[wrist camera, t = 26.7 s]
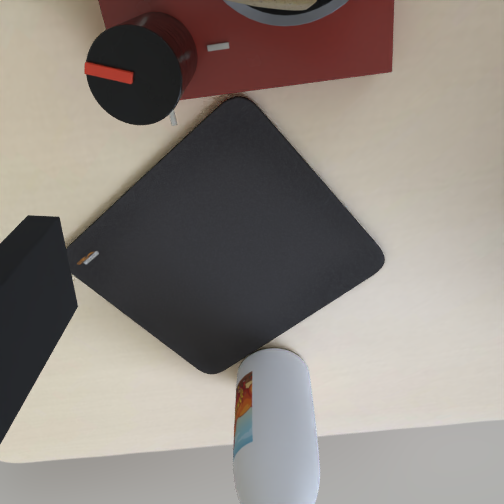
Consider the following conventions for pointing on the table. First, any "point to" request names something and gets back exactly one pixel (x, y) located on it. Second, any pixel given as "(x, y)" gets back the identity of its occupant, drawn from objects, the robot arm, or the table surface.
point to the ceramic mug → (279, 4)
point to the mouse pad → (225, 242)
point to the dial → (141, 67)
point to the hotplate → (271, 44)
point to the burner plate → (287, 12)
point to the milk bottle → (275, 431)
